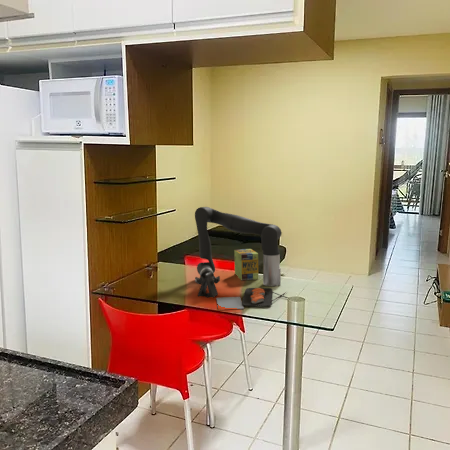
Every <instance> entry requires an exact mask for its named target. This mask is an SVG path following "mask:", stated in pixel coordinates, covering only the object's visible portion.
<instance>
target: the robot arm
mask: <svg viewBox="0 0 450 450" xmlns="http://www.w3.org/2000/svg"><path fill="white" fill-rule="evenodd" d="M194 219H195V225H196V229H197V230H196V231H197V235H198V250H199V258H201V259H203V260H206V261H208V262H204V261H203V262H199V263H198V264H197V265H196V266H197V267H196V271H197V273H198V275H199V277H197V276H195V277H194V283H196V284H197V285H201V283H202V280H203V278H202V276H203V275H204V274H205V273H207V272H208V273H209V272H212V278H213V281H211V284H212V286H213V285H214V284H215V285H217V284H218V283H219V282H221V277H220V275H218V276H215V271H216V266H215V263H214V259H213V257H212V254H213V253H212V241H211V238H210V236H209V232H208V231H209V230H208V223H212V224H216V225H220V226H222V227H223V228H225V229H227V230H228V231H229V230H230V231H232V232H234V233H239V234H245V235H247V234H248V235H257V236H260V237H261V238H260V239H261V240H260V241H261V249H262V283H263V284H262V285H263V286H267V287H278V286H281V276H282V275H281V273H282V271H281V266H280V262H281V259H280V256H281V254H280V253H281V251H280V248H279V246H278V245H279V244H278V241H279V239H280V238H281V237H282V230H281V228H280V227H279V226H278V225H276V224H273V223H264V222H260V221H256V220H254V219H251V218H247V217H244V216H240V215H237V214H232V213H227V212H222V211H219V210H217V209H214V208H212V207H209V206H201V207H198V208H196V210H195V212H194ZM204 286H205V282H204Z"/></svg>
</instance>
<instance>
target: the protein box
mask: <svg viewBox="0 0 450 450" xmlns="http://www.w3.org/2000/svg"><path fill="white" fill-rule="evenodd" d="M233 251H234V275H235V274H236V275H237V276H238V277H237V276H236V275H235V276H236V277H237V278H238V279H239V280H240V281H241V282H243V281H251V280H255V281H256V280H259V253H258V252H257V251H255V250H253V249H252V248H242V249H234V250H233Z"/></svg>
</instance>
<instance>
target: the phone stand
mask: <svg viewBox="0 0 450 450" xmlns="http://www.w3.org/2000/svg"><path fill="white" fill-rule="evenodd" d="M202 278H203V280H202V283H201V284H200V287H199V290H198V294H197V297H199V296H205V297H204V298H209V297H213V298H212V299H214V298H215V297H217V296H218V295H219V293H218V290H217V287H216V284H215V283H214V285H213V286H212V284H211V281H213V278H212V272H209V273H208V272H207V273H205V274H204V275H203V276H202ZM204 282H205V286H204ZM207 289H208V292H207Z"/></svg>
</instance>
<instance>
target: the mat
mask: <svg viewBox="0 0 450 450" xmlns="http://www.w3.org/2000/svg"><path fill="white" fill-rule="evenodd" d="M215 299H216V305H217V304H218V305H219V306H221V307H225V308H237V309H240V310H244V308H245V306H244V305H242V299H241V296H226V297H223V296H222V297H216V298H215ZM218 305H217V306H218Z"/></svg>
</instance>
